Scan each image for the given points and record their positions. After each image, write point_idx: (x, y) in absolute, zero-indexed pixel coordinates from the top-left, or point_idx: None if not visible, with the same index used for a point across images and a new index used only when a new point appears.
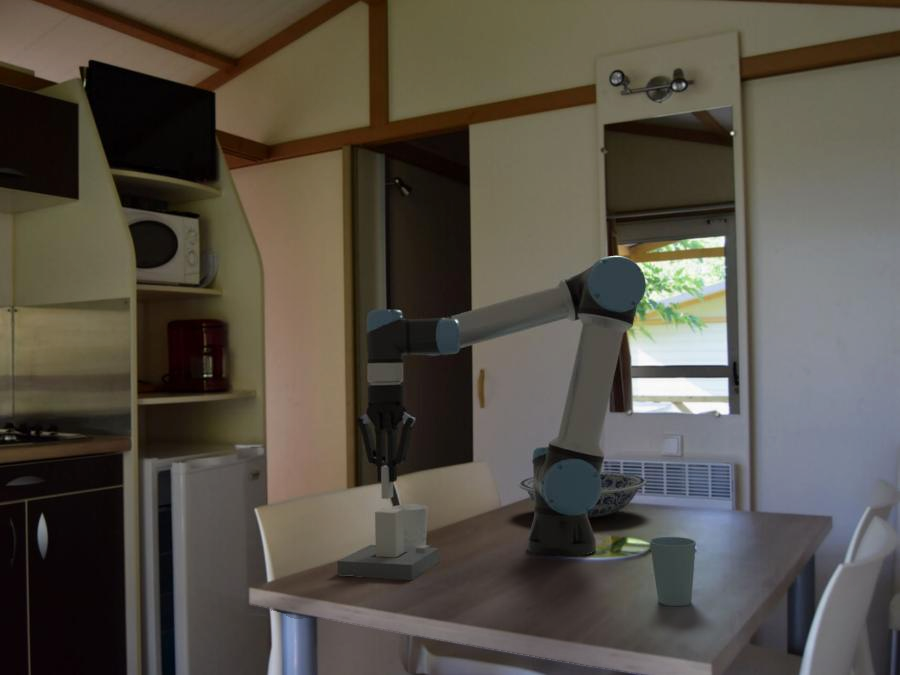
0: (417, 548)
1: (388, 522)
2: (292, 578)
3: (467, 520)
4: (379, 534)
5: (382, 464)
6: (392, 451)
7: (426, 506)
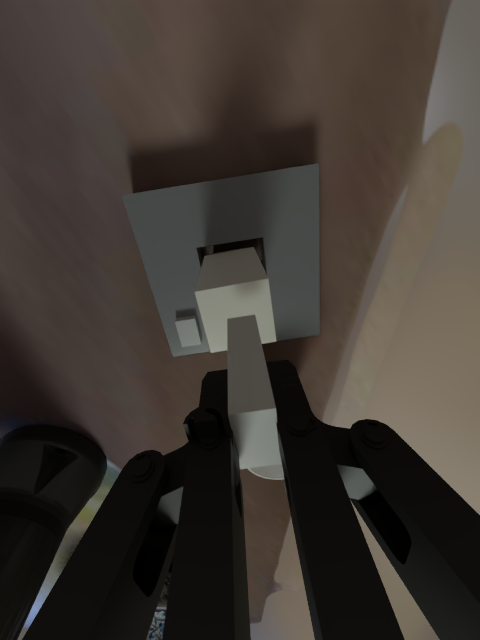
0: (191, 318)
1: (220, 276)
2: (405, 98)
3: (282, 537)
4: (247, 261)
5: (279, 434)
6: (178, 549)
7: (249, 468)
